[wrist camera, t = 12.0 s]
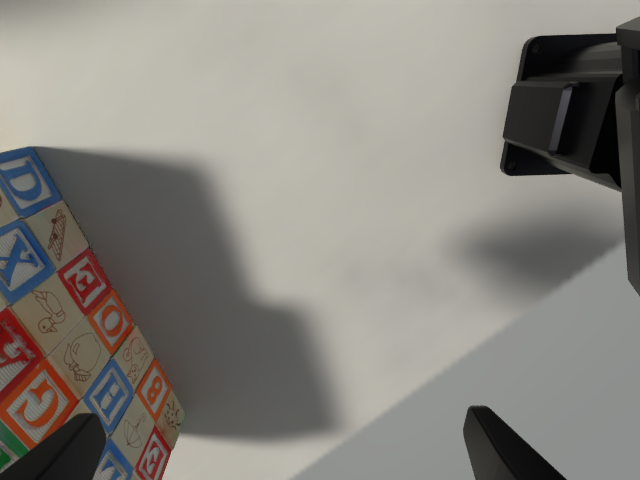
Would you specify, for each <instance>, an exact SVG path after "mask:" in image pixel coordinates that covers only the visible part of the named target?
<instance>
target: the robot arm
mask: <svg viewBox="0 0 640 480" xmlns="http://www.w3.org/2000/svg"><path fill="white" fill-rule="evenodd" d="M536 43H537V44H538V46H539V49H538V51H537V53H536V54H534V53H533V52H532V48H533V46H534V45H535V44H536ZM503 138H504V139H505V143H504V148H503V153H502V159H501V164H500V169H501V171H502V172H503V173H504V174H506V175H509V176H523V175H557V174H574V175H577V176H580V177H582V178H585V179H588V180H590V181H593V182H596V183H598V184H601V185H604V186H606V187H609V188H611V189H614V190H617V191H619V192H622V202H623V216H624V230H625V243H626V257H627V271H628V280H629V282H630V283H631V285H632V286H633V287H634V289H635V290H636V292H637V293H638V294H639V296H640V17H637V18H635V19H633V20H631V21H628V22H626V23H624V24H622V25H619V26H617V27H616V34H584V35H552V36H537V37H533V38H530V39H529V40H527V42H526V43H525V44H524V47H523V49H522V54H521V60H520V65H519V70H518V75H517V80H516V83H515V84H514V85H513V86H512V90H511V95H510V100H509V105H508V111H507V116H506V121H505V127H504V132H503ZM512 162H514V166H513V168H512V169H509V168H508V167H509V164H510V163H512ZM463 435H464V439H465V443H466V447H467V450H468V454H469V458H470V461H471V465H472V468H473V471H474V476H475V479H476V480H567V479H566V478H565V477H563V476H562V475H561V474H560V473H559V472H558V471H557V470H556V469H555V468H554V467H552V465H550V464H549V463H548V462H547V461H546V460H545V459H544V458H543V457H542V456H541V455H540V454H539V453H537V452H536V451H535V450H534V449H533V448H532V447H531V446H530V445H529V444H528V443H526V441H524V440H523V439H522V438H521V437H520V436H519V435H518V434H517V433H516V432H515V431H514V430H513V429H512V428H511V427H509V426H508V425H507V424H506V423H505V422H504V421H503V420H502V419H501V418H500V417H499V416H498V415H496V414H495V413H494V412H493V411H492V410H491V409H490V408H488V407H487V406H483V405H482V406H470V407H469V408H468V410H467V415H466V419H465V423H464V428H463ZM106 439H107V437H106V432H105V430H104V427H103V425H102V423H101V420H100V418H99V416H98V414H96V413H80V414H77V415H75V416H74V417H72V418H71V419H70V420H69V421H67V422H66V423H65V424H63V425H62V426H61V427H60V428H58V429H57V430H56V431H54V432H53V433H52V434H50V435H49V436H48V437H47V438H45V439H44V440H43V441H41V442H40V443H39V444H37V445H36V446H35V447H34V448H32V449H31V450H30V451H28V452H27V453H26V454H25V455H23V456H22V457H21V458H19V459H18V460H17V461H15V462H14V463H13V464H12V465H10V466H9V467H8V468H6V469H5V470H4V471H3V472H1V473H0V480H93V477H94V475H95V472H96V469H97V467H98V464H99V461H100V459H101V456H102V453H103V451H104V448H105V445H106Z"/></svg>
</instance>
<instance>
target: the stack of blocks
mask: <svg viewBox="0 0 640 480" xmlns="http://www.w3.org/2000/svg"><path fill="white" fill-rule="evenodd" d="M88 247H89V244H88V242H87V240H86V239H85V237H84V235H83V233H82V232H81V230H80V228H79V227H78V225H77V223H76V221H75V220H74V218H73V216H72V214H71V213H70V211H69V209H68V207H67V206H66V204H65V202H64V201H63V200H62V199H61V196H60V193H59V192H58V190H57V188H56V187H55V185H54V183H53V181H52V179H51V178H50V176H49V175H48V173H47V171H46V170H45V168H44V166H43V164H42V163H41V161H40V160H39V158H38V156H37V154H36V152H35V151H34V149H33V148H32V147H30V146H28V147H24V148H19V149H15V150H10V151H6V152H2V153H0V473H1V472H3V471H4V470H5V469H6V468H8V467H9V466H10V465H12V464H13V463H14V462H15V461H17V460H18V459H19V458H21V457H22V456H23V455H25V454H26V453H27V452H28V451H30V450H31V449H32V448H34V447H35V446H36V445H37V444H39V443H40V442H41V441H43V440H44V439H45V438H47V437H48V436H49V435H50V434H52V433H53V432H54V431H56V430H57V429H58V428H60V427H61V426H62V425H63V424H65V423H66V422H67V421H69V420H70V419H71V418H72V417H74V416H75V415H77V414H80V413H96V414H98V416H99V418H100V420H101V423H102V425H103V427H104V430H105V432H106V437H107V439H106V445H105V448H104V451H103V453H102V456H101V459H100V461H99V464H98V467H97V469H96V472H95V475H94V477H93V480H162V477H163V474H164V471H165V469H166V466H167V463H168V460H169V457H170V454H171V451H172V450H173V449H174V447H175V444H176V441H177V439H178V436H179V433H180V430H181V427H182V424H183V422H184V419H185V416H186V414H185V412H184V410H183V408H182V407H181V405H180V403H179V401H178V399H177V398H176V396H175V394H174V392H173V391H172V389H171V385H170V383H169V381H168V380H167V378H166V376H165V374H164V373H163V371H162V369H161V367H160V365H159V364H158V362H157V360H156V359H155V358H154V355H153V353H152V351H151V349H150V347H149V346H148V344H147V342H146V340H145V339H144V337H143V335H142V333H141V332H140V330H139V328H138V327H137V325H135V324H134V323H133V321H132V319H131V317H130V316H129V314H128V312H127V311H126V309H125V307H124V305H123V304H122V302H121V300H120V299H119V297H118V295H117V293H116V292H115V290H114V289H113V288H112V287H111V284H110V283H109V281H108V279H107V278H106V276H105V274H104V272H103V270H102V269H101V267H100V265H99V264H98V262H97V260H96V258H95V257H94V255H93V253H92V252H91V250H90V249H89V248H88Z"/></svg>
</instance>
